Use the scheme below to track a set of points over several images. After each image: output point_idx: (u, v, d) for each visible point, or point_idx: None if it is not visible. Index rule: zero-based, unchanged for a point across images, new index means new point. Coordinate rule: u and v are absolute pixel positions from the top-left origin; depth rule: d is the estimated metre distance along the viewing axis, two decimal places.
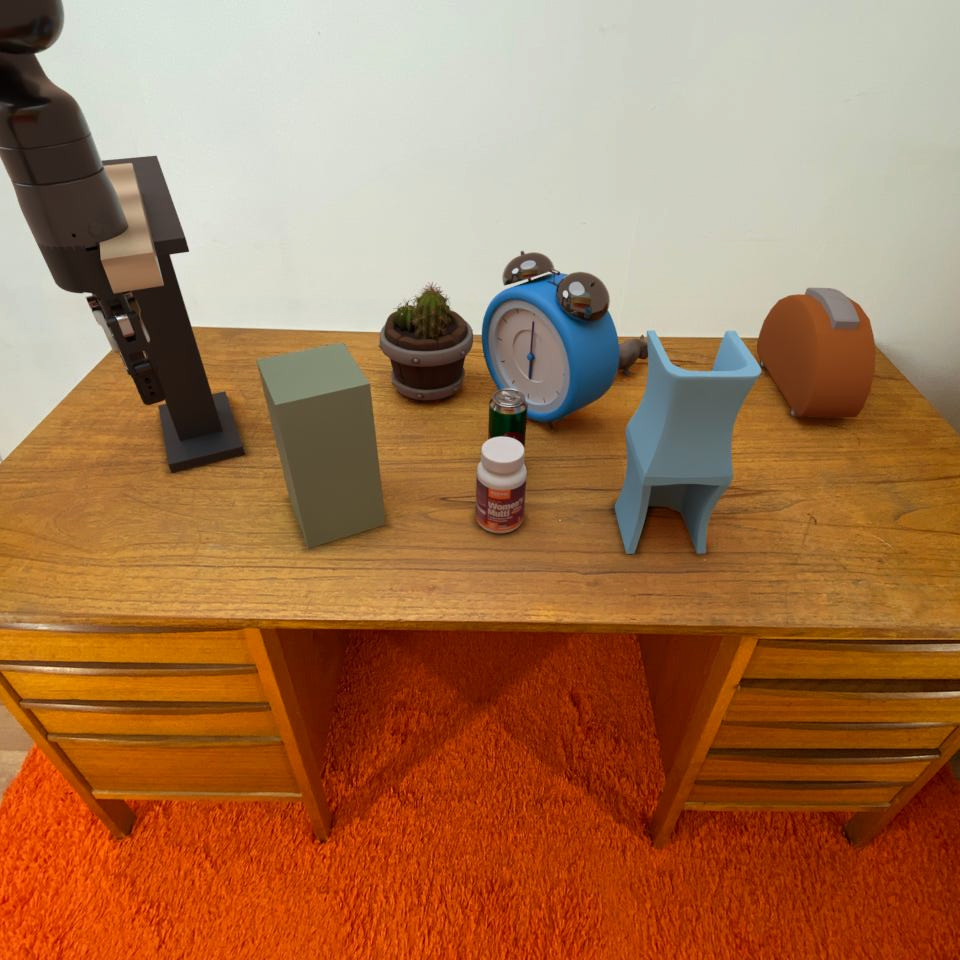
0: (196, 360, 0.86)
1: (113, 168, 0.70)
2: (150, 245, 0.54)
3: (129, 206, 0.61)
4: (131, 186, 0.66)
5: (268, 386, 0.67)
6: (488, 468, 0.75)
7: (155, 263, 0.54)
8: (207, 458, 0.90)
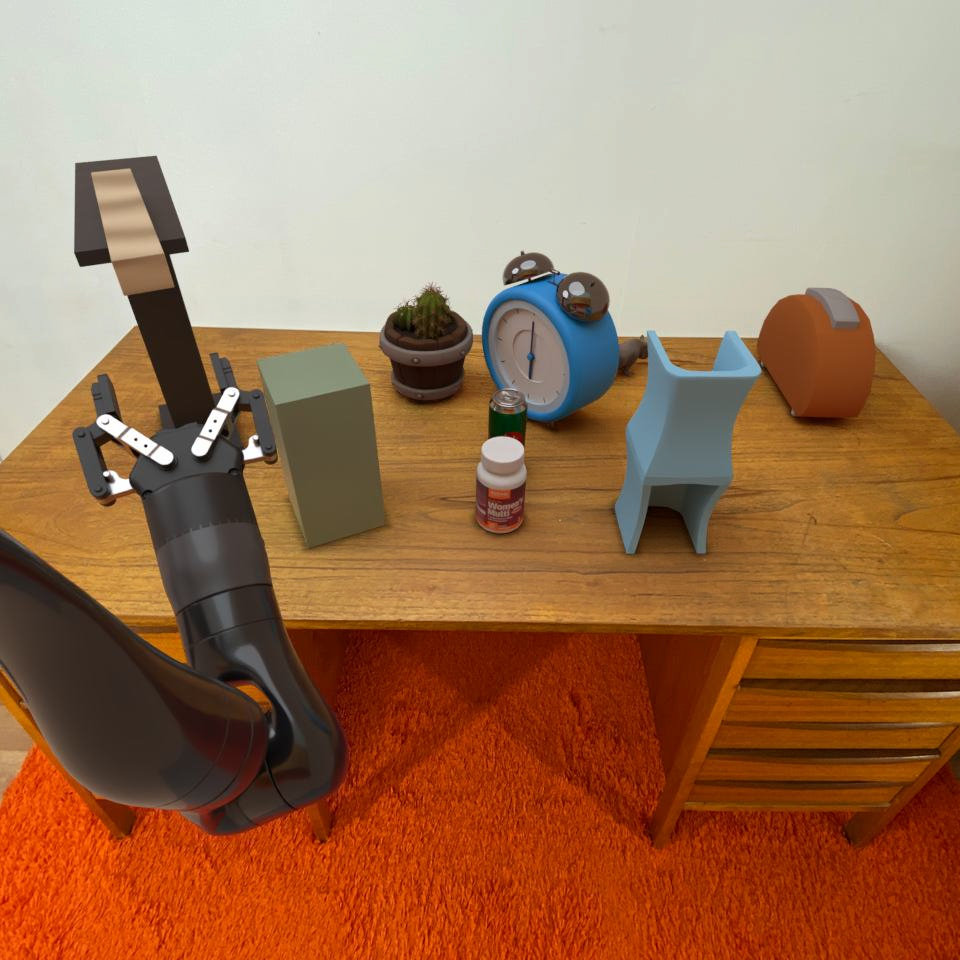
0: (196, 360, 0.86)
1: (112, 173, 0.70)
2: (160, 246, 0.54)
3: (133, 209, 0.61)
4: (133, 190, 0.65)
5: (268, 386, 0.67)
6: (488, 468, 0.75)
7: (166, 264, 0.53)
8: None
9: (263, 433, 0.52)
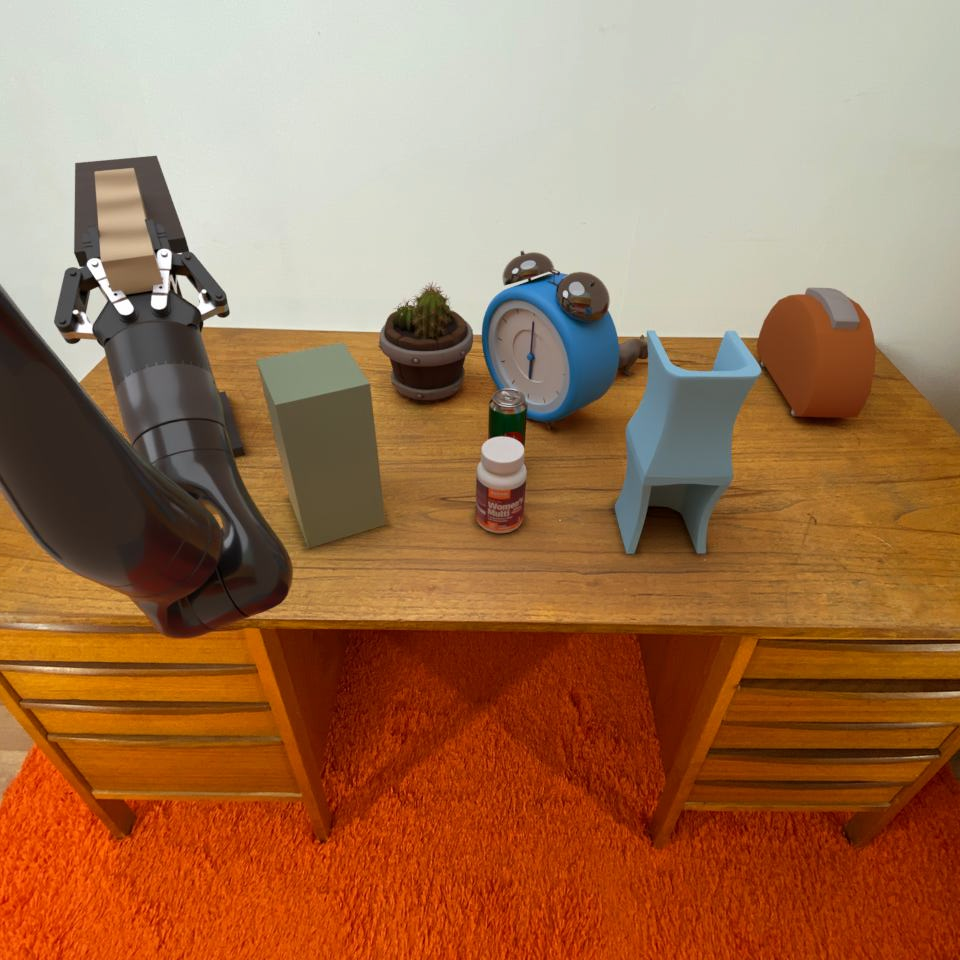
0: None
1: (115, 173, 0.70)
2: (151, 248, 0.54)
3: (130, 210, 0.61)
4: (133, 190, 0.65)
5: (268, 386, 0.67)
6: (488, 468, 0.75)
7: (156, 266, 0.53)
8: None
9: (209, 286, 0.56)
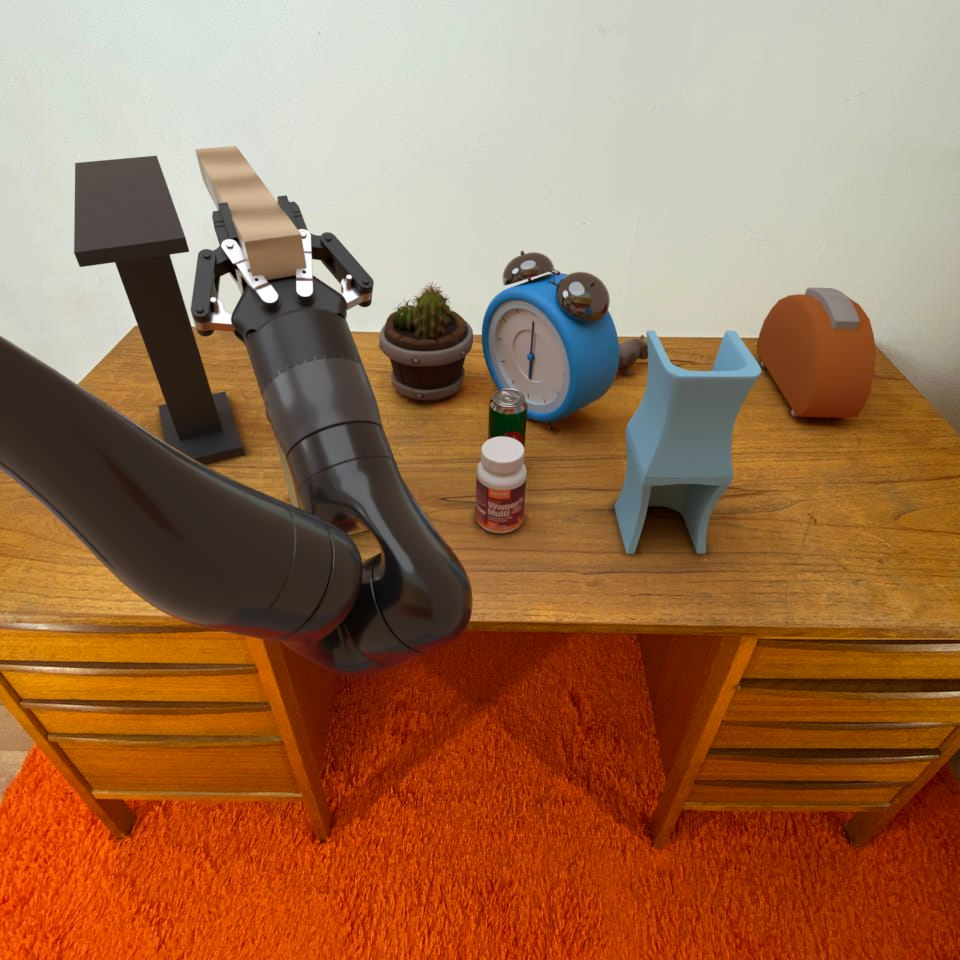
0: (196, 360, 0.86)
1: (218, 151, 0.63)
2: (295, 227, 0.47)
3: (252, 187, 0.54)
4: (246, 168, 0.59)
5: None
6: (488, 468, 0.75)
7: (301, 247, 0.47)
8: (207, 458, 0.90)
9: (354, 271, 0.49)
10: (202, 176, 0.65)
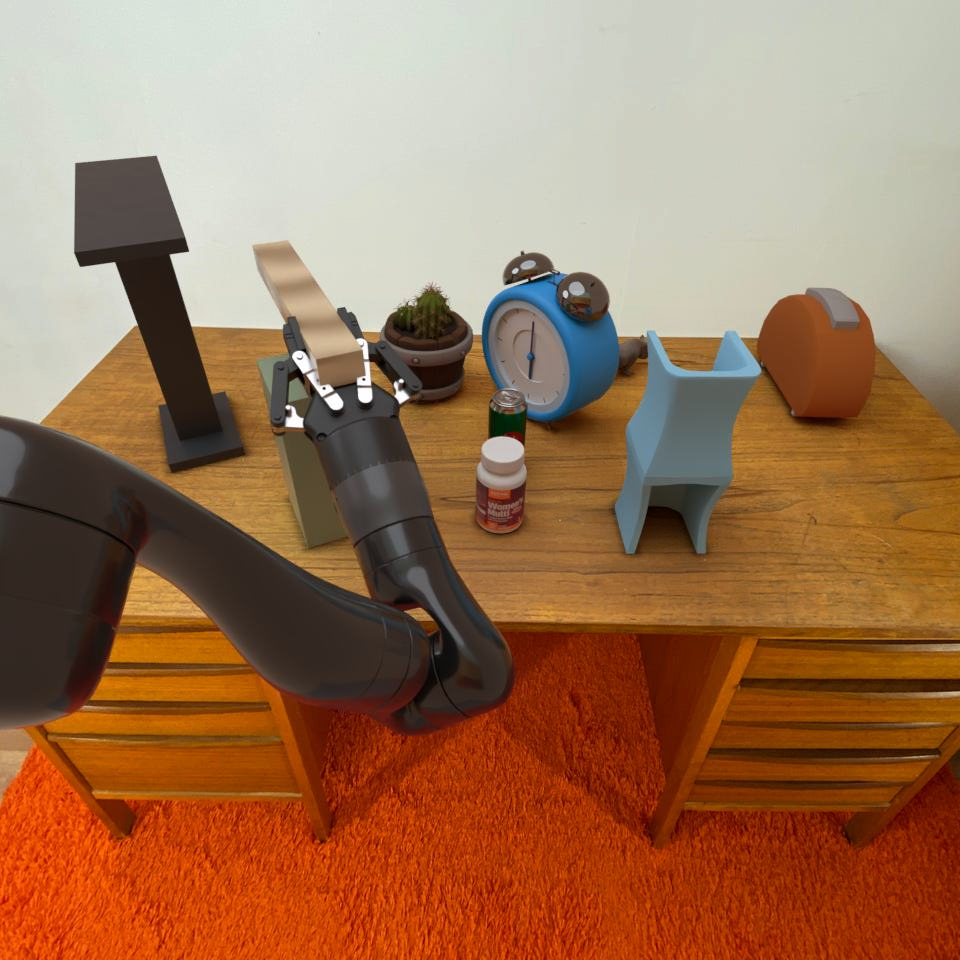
0: (196, 360, 0.86)
1: (273, 247, 0.71)
2: (356, 341, 0.54)
3: (312, 293, 0.62)
4: (301, 268, 0.66)
5: (268, 386, 0.67)
6: (488, 468, 0.75)
7: (362, 360, 0.54)
8: (207, 458, 0.90)
9: (405, 375, 0.56)
10: (258, 268, 0.72)
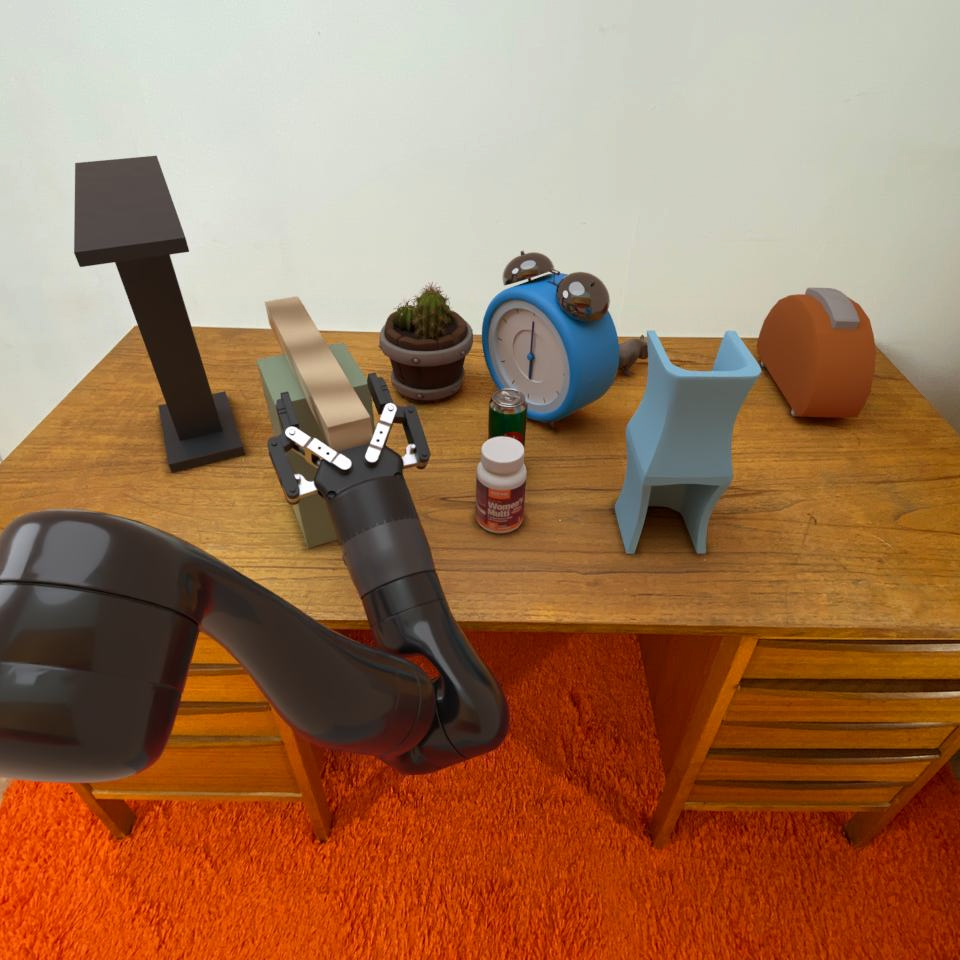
0: (196, 360, 0.86)
1: (284, 303, 0.75)
2: (364, 408, 0.59)
3: (322, 355, 0.66)
4: (312, 328, 0.71)
5: (268, 386, 0.67)
6: (488, 468, 0.75)
7: (370, 425, 0.58)
8: (207, 458, 0.90)
9: (419, 442, 0.61)
10: (270, 323, 0.76)
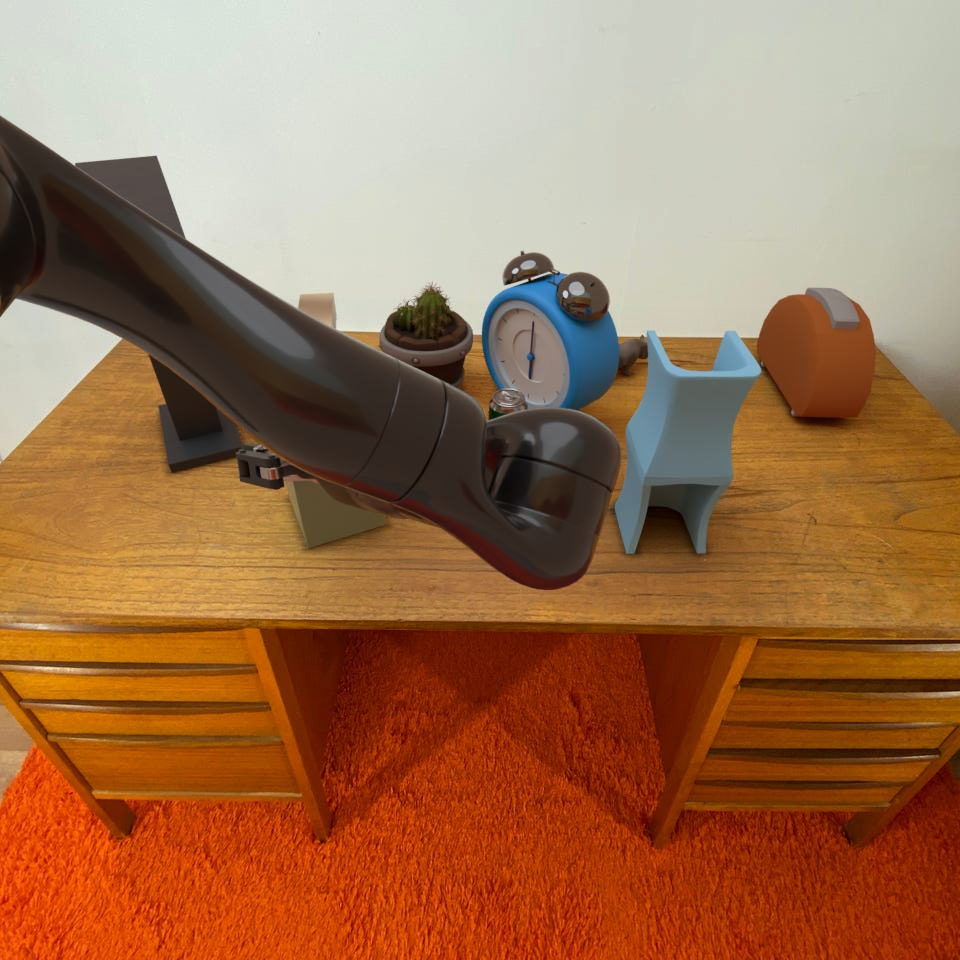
0: None
1: (316, 298, 0.76)
2: None
3: None
4: None
5: None
6: None
7: None
8: (207, 458, 0.90)
9: None
10: None
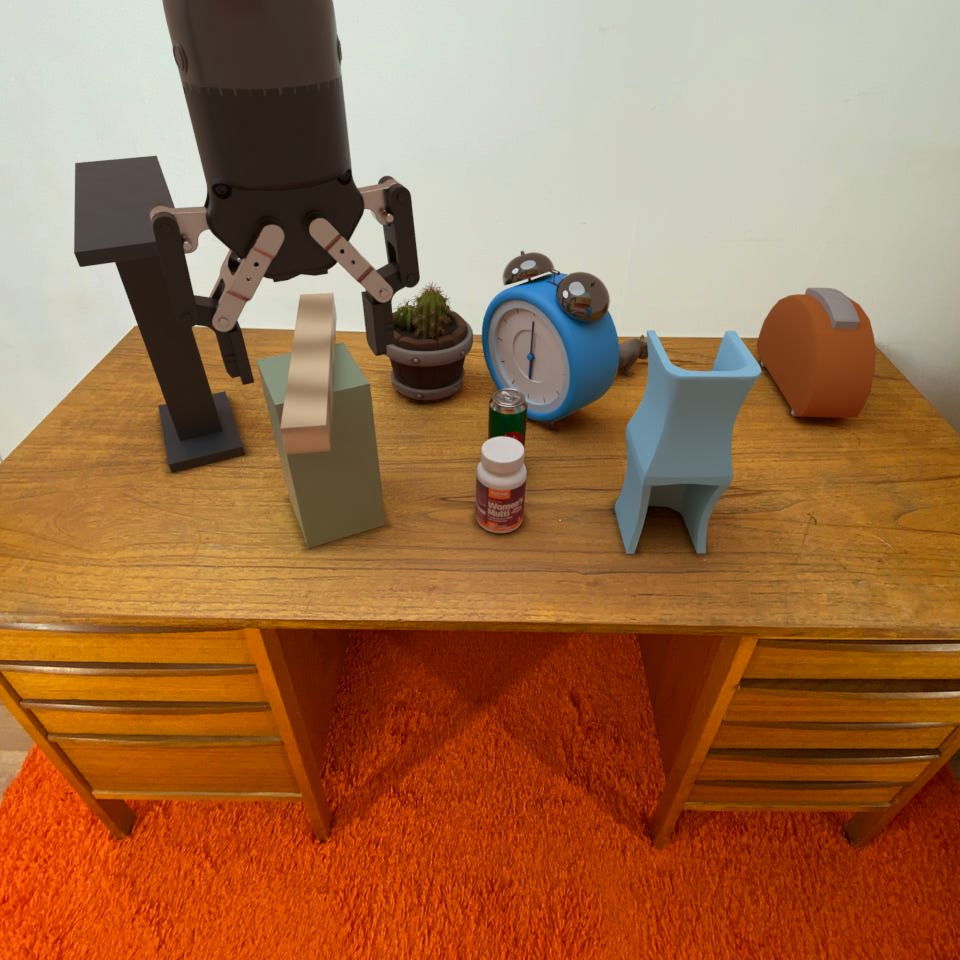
0: (196, 360, 0.86)
1: (316, 298, 0.76)
2: (325, 415, 0.58)
3: (318, 355, 0.66)
4: (326, 326, 0.71)
5: (268, 386, 0.67)
6: (488, 468, 0.75)
7: (326, 433, 0.57)
8: (207, 458, 0.90)
9: None
10: None
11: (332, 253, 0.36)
